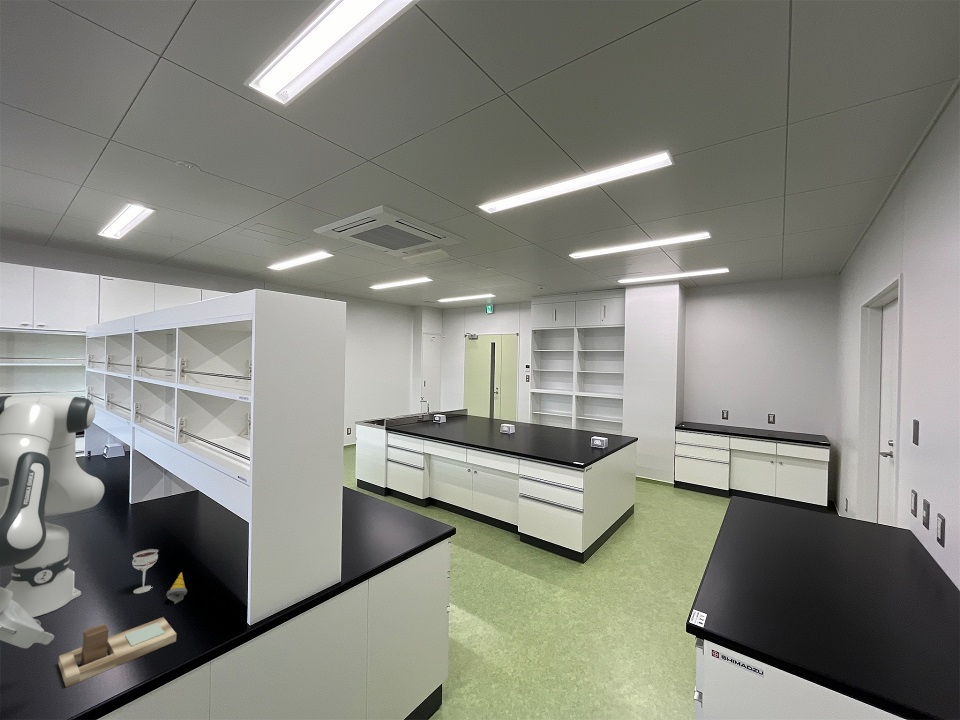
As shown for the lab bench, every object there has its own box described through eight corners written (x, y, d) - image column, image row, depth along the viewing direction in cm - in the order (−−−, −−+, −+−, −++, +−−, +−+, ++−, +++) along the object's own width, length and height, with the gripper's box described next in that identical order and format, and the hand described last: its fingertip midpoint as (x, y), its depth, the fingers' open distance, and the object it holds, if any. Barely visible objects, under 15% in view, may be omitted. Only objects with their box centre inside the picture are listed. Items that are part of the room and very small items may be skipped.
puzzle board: (58, 663, 98) (59, 654, 98) (162, 624, 115) (163, 616, 115) (65, 687, 91) (66, 677, 91) (176, 641, 107) (176, 632, 108)
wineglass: (144, 583, 137) (147, 548, 137) (161, 585, 136) (163, 550, 136) (124, 593, 130) (127, 556, 131) (141, 595, 129) (144, 558, 130)
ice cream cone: (160, 607, 124) (167, 574, 131) (178, 608, 127) (184, 576, 134) (170, 599, 122) (177, 567, 129) (188, 600, 126) (194, 569, 133)
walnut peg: (80, 663, 98) (83, 630, 99) (102, 655, 102) (105, 623, 102) (83, 671, 96) (86, 637, 96) (105, 662, 99) (108, 629, 100)
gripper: (12, 609, 80) (73, 632, 88) (-14, 582, 90) (44, 605, 98) (-26, 644, 76) (43, 665, 84) (-48, 611, 86) (15, 633, 94)
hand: (43, 632), depth 91 cm, fingers open, 8 cm apart
